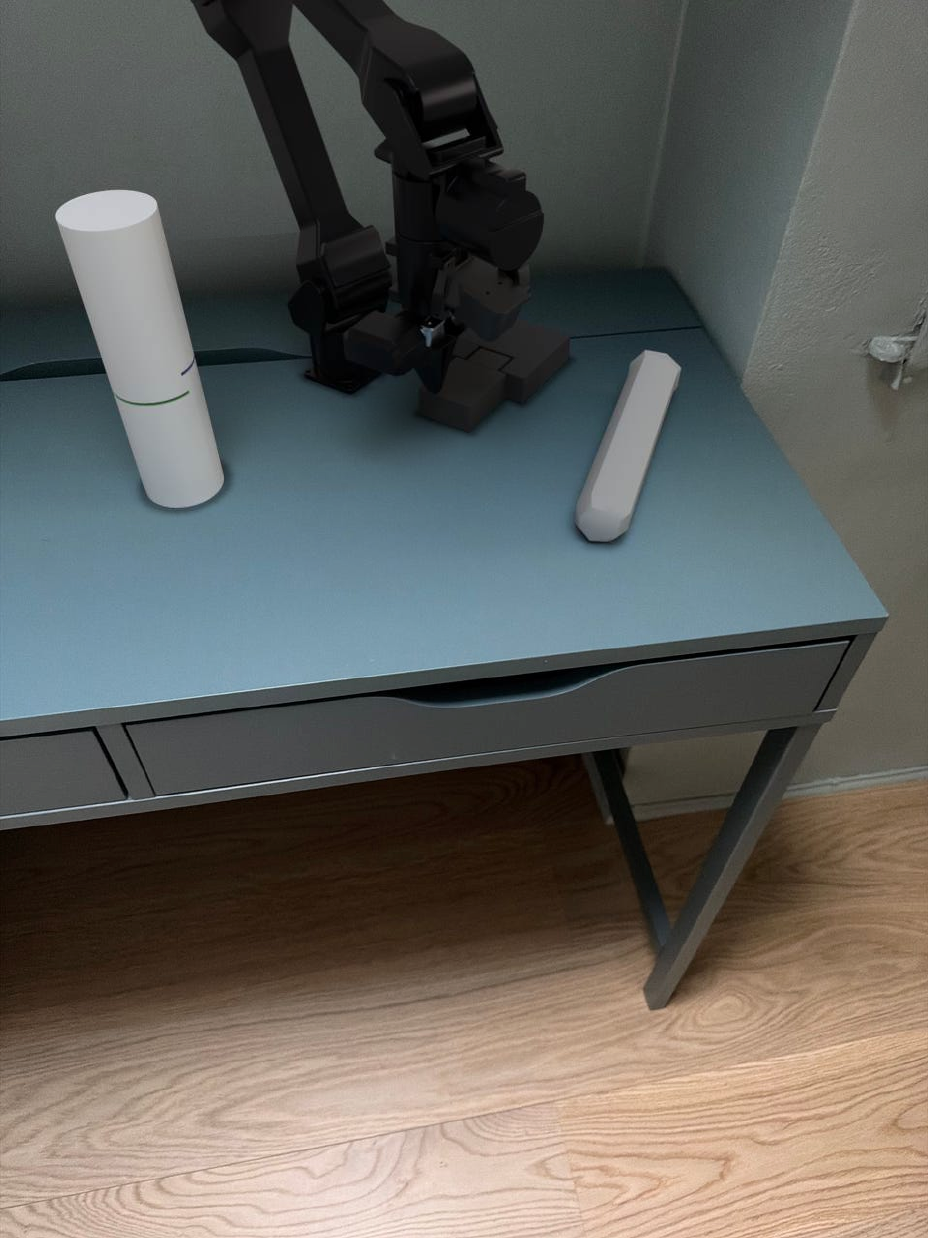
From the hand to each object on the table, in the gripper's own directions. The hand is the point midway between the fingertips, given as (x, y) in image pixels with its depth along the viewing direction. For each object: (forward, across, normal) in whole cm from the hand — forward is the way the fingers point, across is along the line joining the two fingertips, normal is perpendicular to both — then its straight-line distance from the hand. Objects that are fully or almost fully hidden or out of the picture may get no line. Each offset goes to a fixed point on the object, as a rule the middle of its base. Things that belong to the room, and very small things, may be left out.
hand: (434, 391), depth 86 cm
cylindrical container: (+5, -19, +15) cm, 25 cm away
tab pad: (+5, +7, 0) cm, 8 cm away
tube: (+2, +4, -16) cm, 16 cm away
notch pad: (+5, +14, 0) cm, 15 cm away
